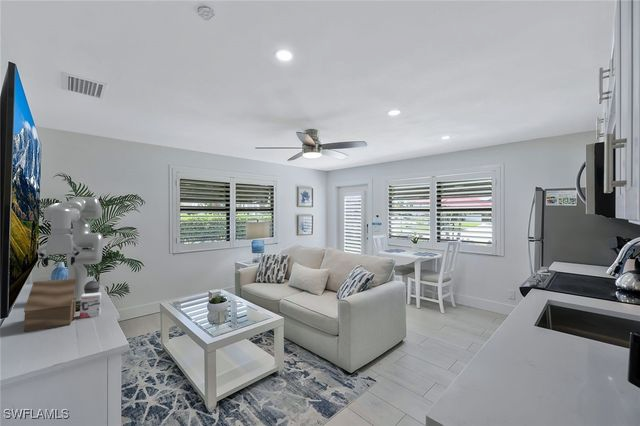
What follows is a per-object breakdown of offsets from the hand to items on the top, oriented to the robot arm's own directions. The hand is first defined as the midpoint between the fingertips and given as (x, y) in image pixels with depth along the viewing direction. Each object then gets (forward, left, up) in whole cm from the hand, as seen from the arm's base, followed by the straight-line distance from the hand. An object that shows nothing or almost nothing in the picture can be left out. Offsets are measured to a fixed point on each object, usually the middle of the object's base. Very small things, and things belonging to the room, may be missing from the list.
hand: (59, 265), depth 143 cm
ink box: (-1, +13, -29) cm, 32 cm away
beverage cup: (-17, +12, -29) cm, 36 cm away
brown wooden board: (+2, -2, -14) cm, 15 cm away
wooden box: (+1, -2, -29) cm, 29 cm away
